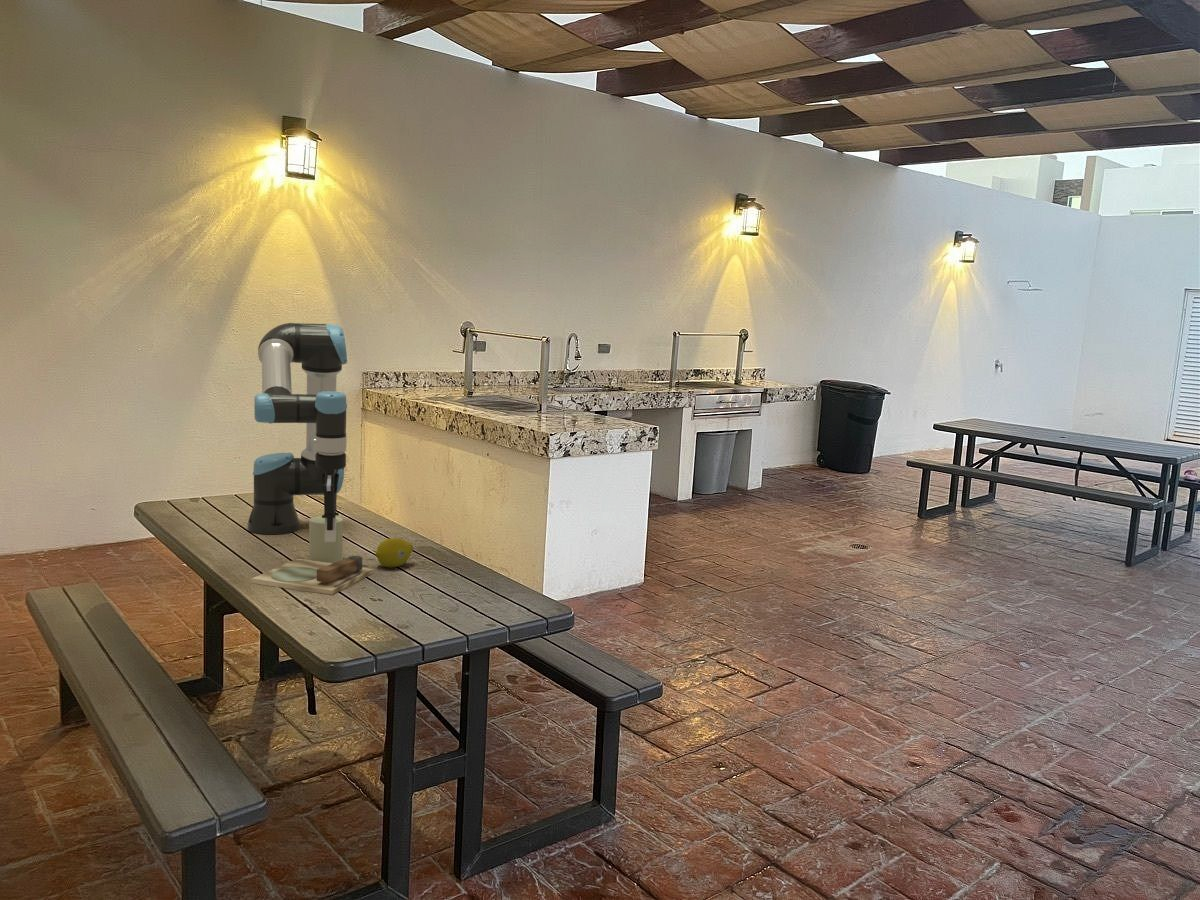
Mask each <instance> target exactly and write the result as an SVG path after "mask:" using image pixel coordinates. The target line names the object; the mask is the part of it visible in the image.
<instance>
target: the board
mask: <svg viewBox="0 0 1200 900" xmlns="http://www.w3.org/2000/svg"><path fill="white" fill-rule="evenodd" d="M330 564H333V563H327V562H320V561H312V560H309V559H304V558H296V559H292V560H290V561H289V562H286V563H284V564H281V565H280V566H277V567H275V568H273V569H270V570H268V571H265V572H263V573H262V574H259V575H257V576H254V577H251V583H252V584H256V585H263V586H269V587H276V588H283V589H284V588H285V589H288V590H296V591H302V592H309V593H315V594H323V595H329V596H333V595H335V594H337V593H339V592H341V591H342V589H343V590H344V588H345V589H346V587H347V588H348V587H351V586H352V585H354V584H356V583H358V582H359V581H362V580H363V579H365V578H366V577H369V576H370V575H373V574H374V569H373V568H367V567H362V569H361V570H358V571H355V572H353V573H350V574H348V575H345V576H343V577H340V578H338V579H335V580H333V581H330V582H328V583H324V582H319V581H317V569H319V568H322V567H325V566H327V565H330ZM357 581H358V582H357Z"/></svg>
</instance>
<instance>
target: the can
mask: <svg viewBox="0 0 1200 900" xmlns="http://www.w3.org/2000/svg"><path fill="white" fill-rule="evenodd" d="M335 516H336V541H335V542H325V518H322V515H317V516H313V517H309V519H308V523H309V524H308V532H309V533H308V534H309V537H308V539H309V540H308V541H309V542H308V543H309V544H308V545H309V547H308V548H309V549H308V551H309V553H308V560H312V561H320V562H327V563H336V562H338V561H341V560H344V557H343V533H344V532H343V530H344V529H343V528H344V527H343V525H344V519H343V517H341V516H339V515H335Z"/></svg>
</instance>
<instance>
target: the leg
mask: <svg viewBox="0 0 1200 900" xmlns="http://www.w3.org/2000/svg"><path fill="white" fill-rule="evenodd" d="M362 568H363V556H360V555H351V556H348V558H347V557H346V558H343V560H341V561H338V562H336V563H333V564H330V565H327V566H325V567H322V568H319V569H317V581H319V582H324V583H328V582H330V581H333V580H335V579H338V578H340V577H343V576H345V575H348V574H350V573H353V572H355V571H358V570H361V569H362Z"/></svg>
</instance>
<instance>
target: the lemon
mask: <svg viewBox="0 0 1200 900" xmlns="http://www.w3.org/2000/svg"><path fill="white" fill-rule="evenodd" d="M413 550H414V546H413V544H412V543H410V542H409V541H407V540H405V539H403V538H399V537H398V538H397V537H391V538H386V539H384V540H383V541H381V543H379V544H378V546H377V549H376V552H375V554H374V555H375V557H376V558H377V561H378V562H379V564H380V565H381V566H382V567H385V568H390V569H391V568H397V567H400V566H403V564H405V563H406V562H407V561H409V558H410V557H411V555H412V553H413Z"/></svg>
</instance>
